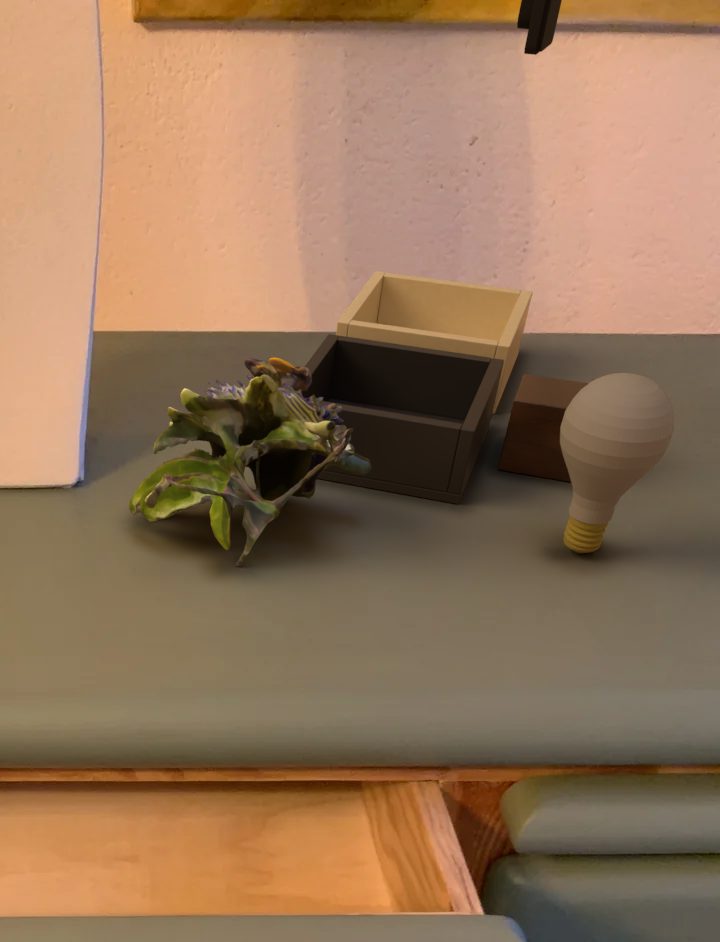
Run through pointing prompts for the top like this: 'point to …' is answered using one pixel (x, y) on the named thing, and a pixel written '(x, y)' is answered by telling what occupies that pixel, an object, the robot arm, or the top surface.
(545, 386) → the walnut block
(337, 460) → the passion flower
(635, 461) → the light bulb
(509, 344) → the cream bin
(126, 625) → the top surface
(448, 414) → the charcoal bin
